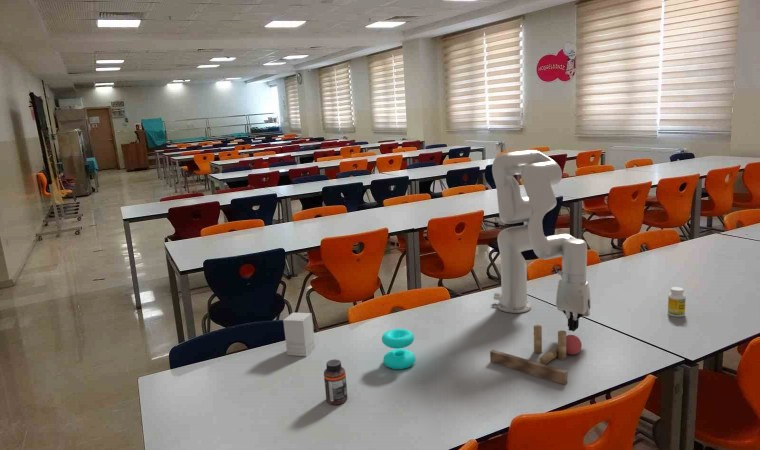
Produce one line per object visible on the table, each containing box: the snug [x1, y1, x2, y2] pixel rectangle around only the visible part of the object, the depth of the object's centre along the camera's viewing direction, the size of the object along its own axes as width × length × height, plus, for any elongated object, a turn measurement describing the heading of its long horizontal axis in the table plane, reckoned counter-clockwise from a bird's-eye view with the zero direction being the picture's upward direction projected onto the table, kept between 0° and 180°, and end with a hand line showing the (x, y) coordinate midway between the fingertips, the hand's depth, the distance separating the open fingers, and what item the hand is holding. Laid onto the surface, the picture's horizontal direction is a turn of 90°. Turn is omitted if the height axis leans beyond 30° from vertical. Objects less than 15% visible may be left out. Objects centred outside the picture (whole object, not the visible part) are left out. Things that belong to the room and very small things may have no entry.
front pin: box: [539, 346, 558, 365], centre depth 166 cm, size 2×2×8 cm
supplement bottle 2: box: [667, 286, 686, 318], centre depth 193 cm, size 5×5×10 cm
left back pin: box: [533, 324, 543, 354], centre depth 172 cm, size 2×2×8 cm
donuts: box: [381, 328, 416, 370], centre depth 170 cm, size 10×10×10 cm
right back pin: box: [557, 330, 567, 361], centre depth 166 cm, size 2×2×8 cm
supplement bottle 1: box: [323, 358, 348, 406], centre depth 150 cm, size 6×6×11 cm
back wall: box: [489, 349, 568, 385], centre depth 160 cm, size 24×2×4 cm, turn 46°
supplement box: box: [282, 312, 316, 357], centre depth 183 cm, size 7×7×13 cm
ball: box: [566, 334, 583, 356], centre depth 169 cm, size 6×6×6 cm
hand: (573, 329), depth 181 cm, fingers closed
